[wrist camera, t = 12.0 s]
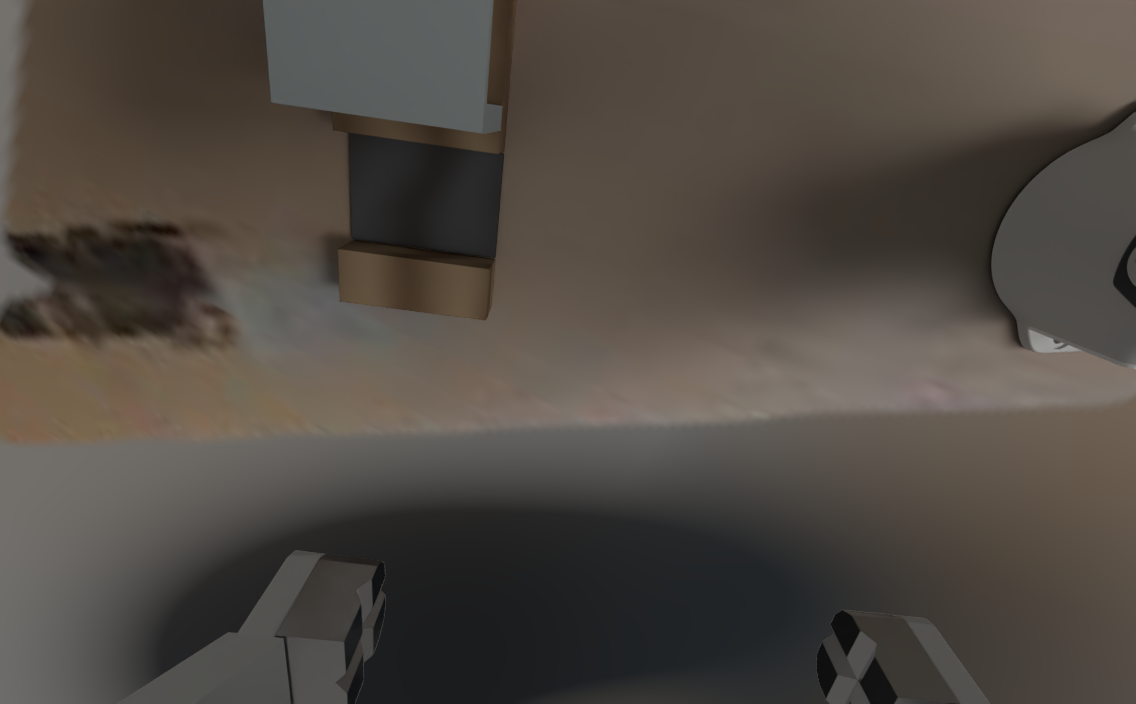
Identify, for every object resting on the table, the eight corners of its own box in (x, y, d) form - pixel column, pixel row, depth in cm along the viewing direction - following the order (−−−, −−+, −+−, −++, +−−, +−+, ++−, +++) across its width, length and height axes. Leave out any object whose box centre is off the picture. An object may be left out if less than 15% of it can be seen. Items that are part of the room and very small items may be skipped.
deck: (548, -399, 28) (546, -456, 25) (491, 307, 43) (485, 320, 41) (334, -440, 27) (307, -503, 24) (354, 289, 43) (339, 301, 40)
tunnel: (513, -35, 32) (495, -78, 25) (500, 130, 35) (482, 134, 28) (325, -65, 31) (253, -117, 24) (332, 106, 35) (271, 103, 28)
